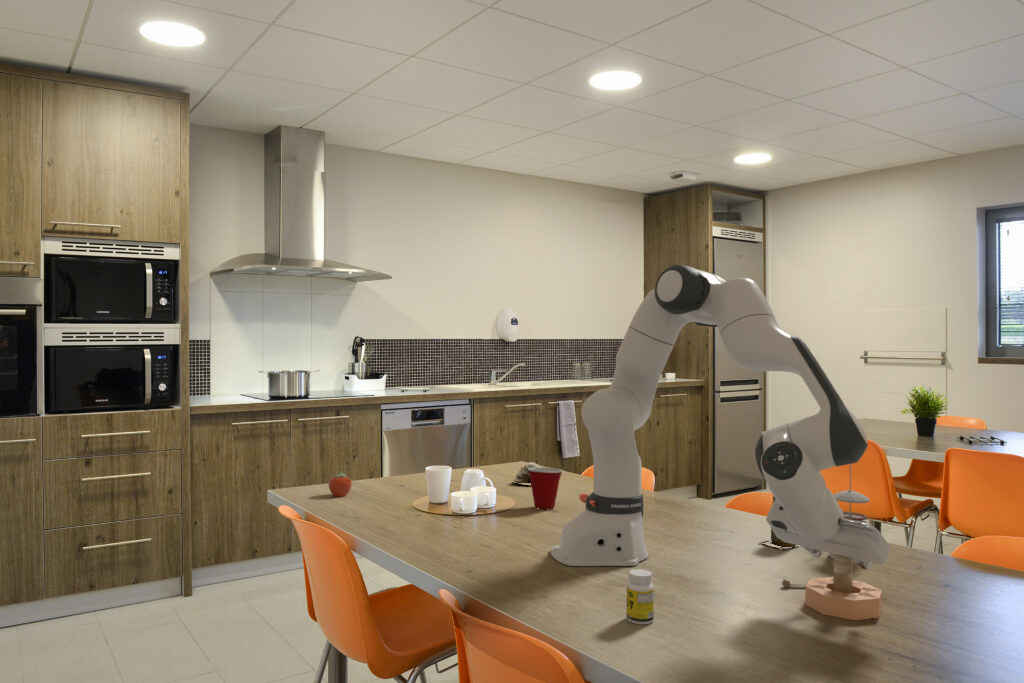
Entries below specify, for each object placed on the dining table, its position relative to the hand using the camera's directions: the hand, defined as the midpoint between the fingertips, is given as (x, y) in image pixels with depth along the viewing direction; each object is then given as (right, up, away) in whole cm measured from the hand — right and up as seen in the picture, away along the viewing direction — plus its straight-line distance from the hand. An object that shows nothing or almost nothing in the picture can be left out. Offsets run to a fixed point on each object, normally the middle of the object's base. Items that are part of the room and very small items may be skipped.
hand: (842, 560), depth 135 cm
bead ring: (0, -9, 0) cm, 9 cm away
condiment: (+5, -9, +43) cm, 44 cm away
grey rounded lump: (-56, -10, +121) cm, 133 cm away
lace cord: (+2, -9, +11) cm, 14 cm away
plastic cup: (-52, -9, +82) cm, 98 cm away
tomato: (-117, -9, +98) cm, 153 cm away
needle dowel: (0, -9, 0) cm, 9 cm away
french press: (+16, -9, +33) cm, 38 cm away
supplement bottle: (-39, -9, -7) cm, 41 cm away
